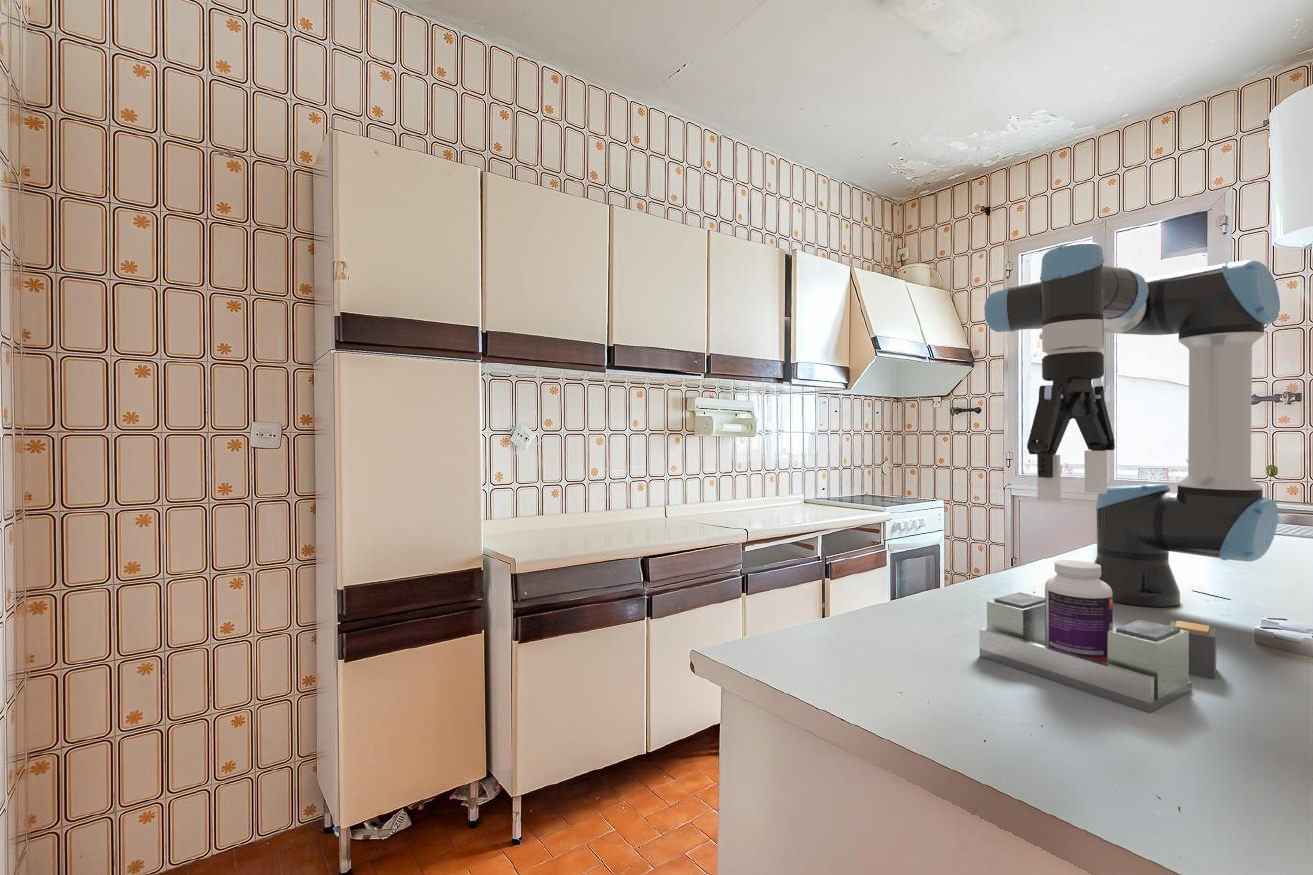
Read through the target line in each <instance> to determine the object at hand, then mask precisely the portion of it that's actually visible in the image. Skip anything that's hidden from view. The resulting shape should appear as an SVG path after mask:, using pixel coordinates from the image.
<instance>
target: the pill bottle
mask: <svg viewBox="0 0 1313 875" xmlns="http://www.w3.org/2000/svg"><path fill="white" fill-rule="evenodd" d="M1054 572H1055V574H1056V575H1054V576H1051V577H1049V578H1047V580H1046V581H1045V584H1044V598H1045V646H1047V647H1051V648H1054V649H1058V650H1061V651H1065V652H1068V653H1072V654H1075V655H1079V656H1082V657H1085V658H1089V659H1092V660H1096V661H1099V662H1103V663H1106V664H1108V631H1110V630H1113V629H1114V628H1113V627H1114V626H1113V624H1114V622H1113V617H1114V616H1113V613H1114V612H1113V606H1114V605H1113V603H1114V601H1113V600H1112V599H1113V595H1112V589H1111V588H1110V586H1109V585H1108V584H1106V583H1105V582H1103V581H1101V580H1100V579H1099V577H1101V566H1100V565H1098V564H1095V563H1094V562H1090V561H1086V560H1085V561H1084V560H1074V559H1073V560H1072V559H1061V560H1060V559H1059V560H1055V561H1054Z"/></svg>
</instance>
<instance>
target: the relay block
mask: <svg viewBox="0 0 1313 875" xmlns="http://www.w3.org/2000/svg"><path fill="white" fill-rule="evenodd" d="M1168 626H1172V627H1177V628H1180V629H1182V630H1186V631H1189V675H1191V676H1195V677H1200V678H1205V679H1209V680H1215V679H1216V673H1217V628H1215V627H1210V625H1209V624H1200V623H1195V622H1188V621H1181V620H1176V621H1173V620H1171V621H1170V623H1169V625H1168Z"/></svg>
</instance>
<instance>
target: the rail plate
mask: <svg viewBox="0 0 1313 875" xmlns="http://www.w3.org/2000/svg"><path fill="white" fill-rule="evenodd" d="M978 630H979V631H978V632H979V633H978V634H979V657H981V658H983V659H984V658H985V659H988V660H990V661H993V662H997V663H999V664H1003V665H1006V666H1009V667H1011V668H1014V669H1017V670H1020V671H1023V672H1026V673H1030V674H1032V675H1035V676H1038V677H1041V678H1044V679H1046V680H1050V681H1053V682H1056V683H1059V684H1063V685H1066V686H1069V687H1071V688H1074V689H1078V690H1080V691H1083V692H1086V693H1089V694H1093V695H1094V696H1095V695H1096V696H1099V697H1102V698H1104V699H1107V700H1110V701H1114V702H1117V703H1119V704H1122V705H1126V706H1128V707H1131V708H1135V709H1138V710H1141V711H1144V712H1147V713H1149V714H1151V713H1152V712H1155V711H1156V710H1159V709H1160V708H1162V707H1165V706H1166V705H1168V704H1170V703H1171V702H1174V701H1175V700H1177V699H1179V698H1181V697H1183V696H1185V695H1187V694H1189V693H1191V692H1192V691H1193V687H1192V686H1193V682H1192V681H1190V680H1189V678H1190V677H1189V631H1186V630H1182V629H1180V628H1177V627H1172V626H1169V625H1168V624H1163V623H1159V622H1155V621H1154V622H1153V621H1148V620H1145V619H1138V620H1135V621H1131V622H1130V623H1127V624H1124V625H1121V626H1118V627H1116V628H1113V630H1110V631H1108V664H1106V663H1103V662H1099V661H1096V660H1092V659H1089V658H1085V657H1082V656H1079V655H1075V654H1072V653H1068V652H1065V651H1061V650H1058V649H1054V648H1051V647H1047V646H1045V597H1042V596H1038V595H1034V594H1029V593H1024V592H1021V591H1020V592H1016V593H1011V594H1008V595H1007V594H1006V595H1003V596H999V597H996V598H994V599H991V600H988V601H986V628H984V627H983V628H982V627H981V628H979V629H978Z"/></svg>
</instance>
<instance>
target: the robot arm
mask: <svg viewBox="0 0 1313 875" xmlns="http://www.w3.org/2000/svg"><path fill="white" fill-rule="evenodd" d="M1103 253H1104V252H1103V247H1102V245H1100V244H1098V243H1095V242H1079V243H1078V242H1077V243H1072V244H1066V245H1065V244H1064V245H1061V246H1057V247H1055V248H1051V249H1050V250H1049V251H1047V252H1045V253H1044V254H1043V256H1042V258H1041V269H1040V276H1039V277H1040V278H1039V280H1040V281H1038V282H1037V281H1036V282H1032V283H1027V284H1023V285H1016V286H1012V287H1011V286H1008V287H1006V288H1003V289H1000V290H996V291H993V292H992V293H990V294H989V295H988V297H987V298H986V300H985V303H984V307H983V308H984V319H985V322H986V324H987V326H988V327H989V328H990V329H991V330H992V331H994V332H997V333H1004V332H1011V333H1013V332H1014V331H1020V330H1021V331H1022V330H1040V329H1041V334H1040V336H1039V339H1041V342H1042V343H1041V348H1042V350H1041V351H1042V352H1043V353H1045V354H1046V355H1044V356H1043V357H1042V358H1041V377H1042V380H1043V381H1045V382H1052V384H1049V385H1048V384H1046V385H1040V386H1039V388H1038V389H1039V390H1038V401H1037V402H1038V403H1037V405H1036V406H1037V407H1036V409H1035V413H1034V417H1033V420H1032V425H1031V429H1030V433H1029V438H1028V440H1027V444H1026V448H1027V450H1028V454H1029V455H1036V465H1037V467H1036V468H1037V475H1036V476H1037V479H1036V480H1037V484H1036V485H1037V500H1038V501H1048V502H1057V503H1058V502H1061V499H1062V498H1061V495H1062V493H1061V492H1062V491H1061V487H1062V486H1061V455H1060V454H1057V452H1058V449H1059V447H1060V444H1061V442H1062V440H1063V437H1064V435H1065V433H1066V430H1067V427H1068V425H1069V422H1070V421H1071V420H1072V419H1074V420H1075V422H1076V424H1077V426H1078V428H1079V431H1080V433H1081V436H1082V438H1083V440H1084V442H1085V445H1086V446H1087V449H1086V450H1084V454H1083V455H1084V458H1083V459H1084V460H1083V461H1084V493H1085V494H1086V493H1088V494H1097V499H1096V507H1095V510H1096V558H1095V560H1094V562H1093V563H1095V564H1098V565H1100V566H1101V577H1099V579H1100V580H1101V581H1103V582H1105V583H1106V584H1108V585H1109V586H1110V588H1111V589H1112V595H1113V599H1112V600H1113V603H1115V602H1116V603H1118V604H1119V603H1120V604H1126V605H1130V606H1131V605H1132V606H1141V607H1142V606H1143V607H1154V608H1155V607H1156V608H1157V607H1159V608H1161V607H1162V608H1163V607H1164V608H1166V607H1175V606H1178V605H1180V604H1181V591H1180V588H1179V586H1178V583H1177V581H1176V577H1175V576H1174V574H1173V570H1172V568H1171V566H1170V561H1169V560H1170V559H1169V553H1170V552H1172V553H1179V554H1180V553H1181V554H1185V555H1187V554H1188V555H1195V556H1201V557H1208V558H1209V557H1210V558H1214V559H1215V558H1216V559H1220V560H1222V561H1229V560H1231V561H1239V562H1254V561H1257V560H1260V559H1261V558H1262V557H1264V556H1265V554H1267V552H1268V551H1269V549H1270V547H1271V545H1272V543H1273V541H1274V538H1275V535H1276V532H1277V528H1278V520H1279V511H1278V506H1277V503H1276V502H1275V501H1274V500H1273V499H1271V498H1268V497H1266V496H1265V497H1263V493H1264V492H1263V488H1264V487H1263V486H1262V485H1260V484H1259V483H1258V482H1256V481H1255V480H1254V479H1253V478H1252V393H1253V392H1252V383H1253V382H1252V379H1253V377H1252V376H1253V372H1252V371H1253V366H1252V365H1253V346H1254V344H1255V343H1256V342H1258V341H1259V340H1260V339H1261V338H1263V337H1264V335H1265V325H1271V324H1272V323H1274V322H1276V321H1277V320H1278V318H1279V316H1280V310H1281V301H1280V294H1279V291H1278V286H1277V284H1276V281H1275V278H1274V277H1273V274H1272V273H1271V270H1270V269H1269V268H1268V267H1267V266H1266V265H1265V264H1264V263H1263V262H1261V261H1257V260H1253V259H1251V260H1242V261H1241V260H1240V261H1234V262H1224V263H1221V264H1216V265H1211V266H1206V267H1205V266H1204V267H1202V268H1196V269H1190V270H1185V271H1181V272H1175V273H1171V274H1163V275H1159V276H1154V277H1151V278H1147V279H1145V278H1144V277H1143V276H1142V275H1141V274H1139V273H1138V272H1135V271H1132V270H1131V269H1129V268H1126V267H1124V268H1123V267H1117V266H1116V267H1114V266H1109V265H1105V258H1104V254H1103ZM1105 333H1106V334H1107V333H1108V334H1124V335H1137V336H1138V335H1139V336H1141V335H1142V336H1165V335H1167V336H1168V335H1175V334H1178V342H1179V343H1180V344H1181V345H1182V346H1183V347H1186V348H1187V349H1188V443H1187V444H1188V448H1187V450H1188V452H1187V456H1188V458H1187V459H1188V463H1187V465H1188V466H1187V469H1188V470H1187V476H1186V477H1185V478H1184V479H1182V480H1180V481H1179V482H1178V483H1177V492H1176V491H1171V488H1170V487H1169V485H1168V484H1167V483H1148V484H1145V483H1144V484H1129V485H1117V486H1116V485H1115V486H1108V476H1107V475H1108V467H1107V466H1108V465H1107V464H1108V463H1107V462H1108V461H1107V460H1108V458H1107V457H1108V456H1107V455H1108V453H1107V452H1108V451H1114V450H1115V447H1116V446H1115V445H1116V444H1115V441H1116V440H1115V437H1114V432H1113V429H1112V425H1111V421H1110V416H1109V414H1108V409H1107V405H1106V400H1105V389H1104V386H1103V385H1093V383H1092V380H1094V379H1095V380H1097V379H1101V378H1102V377H1104V374H1105V368H1104V366H1105V364H1104V363H1105V361H1104V360H1105V356H1104V354H1103V352H1101V351H1100V350H1101V349H1103V348H1104V347H1105Z"/></svg>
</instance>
